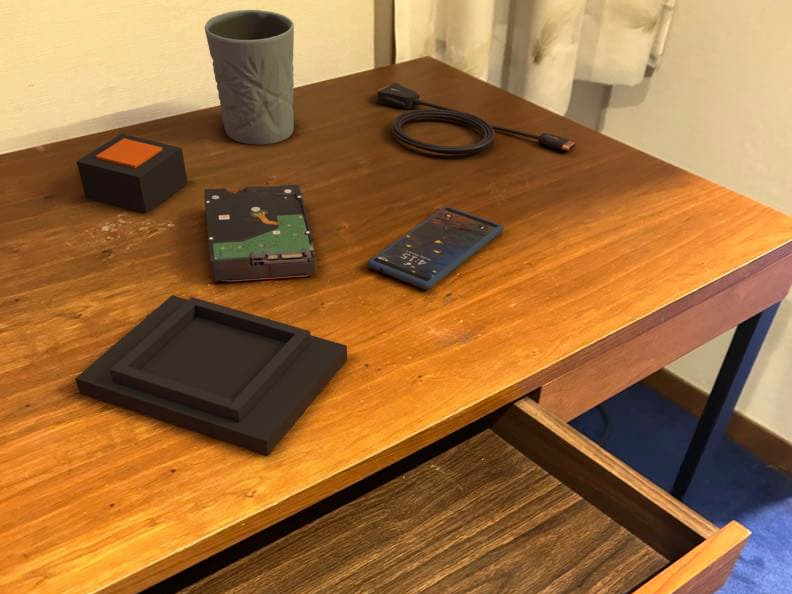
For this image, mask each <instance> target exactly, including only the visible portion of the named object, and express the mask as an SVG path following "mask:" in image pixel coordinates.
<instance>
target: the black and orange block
mask: <svg viewBox="0 0 792 594" xmlns="http://www.w3.org/2000/svg"><path fill="white" fill-rule="evenodd" d="M75 163H76V166H77V170H78V174H79V178H80V181H81V185H82V190H83V194H84V197H85V198H87V199H90V200H93V201H98V202H102V203H106V204H109V205H113V206H117V207H121V208H123V209H127V210H131V211H135V212H138V213H139V212H140V213H143V214H148V213H149V212H150V211H152V210H153V209H155V208H156V207H157V206H159V205H160V204H162V203H163V202H164V201H165V200H167V199H168V198H169V197H171V196H172V195H173V194H175V193H176V192H178V191H180V190H181V188H184V187H185V186H186V185H187V184H188V178H187V172H186V165H185V158H184V152H183V148H182V147H180V146H175V145H170V144H167V143H164V142H163V143H162V142H158V141H155V140H152V139H151V140H150V139H146V138H141V137H138V136H134V135H129V134H126V133H120V134H119V135H117V136H115V137H114V138H112V139H110V140H109V141H106V142H105V143H104V144H102V145H101V146H99V147H97V148H95V149H94V150H92V151H91V152H89V153H87V154H85V155H84V156H83V157H81V158H79V159H78V160H76V162H75Z"/></svg>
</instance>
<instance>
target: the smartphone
mask: <svg viewBox="0 0 792 594" xmlns="http://www.w3.org/2000/svg"><path fill="white" fill-rule="evenodd" d="M503 231H504V226H503V225H502V224H500V223H497V222H493V221H491V220H488V219H485V218H482V217H479V216H477V215H474V214H471V213H468V212H465V211H462V210H460V209H457V208H454V207H451V206H448V205H447V206H443V207H442V208H440V209H439V210H437V211H436V212H435V213H433V214H432V215H431V216H429V217H428V218H426V219H425V220H424V221H422V222H421V223H419V224H418V225H417V226H415V227H414V228H412V229H411V230H410V231H408V232H406V233H405V234H404V235H402V236H401V237H400V238H398V239H396V240H395V241H394V242H392V243H391V244H389V245H388V246H387V247H386V248H384V249H383V250H381V251H379V252H378V253H376V254H375V255H374V256H372V257H371V258H370V259H368V261H367V267H368V268H370V269H372V270H375V271H377V272H380V273H382V274H384V275H388V276H390V277H392V278H395V279H397V280H401V281H403V282H405V283H407V284H410V285H413V286H415V287H418V288H420V289H423V290H431V289H432V288H433V287H434V286H436V285H437V284H439V282H441V281H442V280H443V279H445V278H446V277H447V276H448V275H450V274H451V273H452V272H453V271H455V270H456V269H457V268H459V267H460V266H461V265H462V264H464V262H466V261H467V260H469V259H470V258H471V257H473V256H474V255H475V254H476V253H477V252H479V251H481V249H483V248H484V247H485V246H487V244H489V243H490V242H491V241H493V240H494V239H495V238H496V237H497V236H499V235H500V234H501V233H502V232H503Z"/></svg>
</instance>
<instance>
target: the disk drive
mask: <svg viewBox="0 0 792 594" xmlns="http://www.w3.org/2000/svg"><path fill="white" fill-rule="evenodd" d="M203 197H204V206H205V215H206V217H205V218H206V228H207V229H206V230H207V231H206V232H207V243H208V245H207V246H208V247H207V248H208V255H209V264H210V270H211V271H210V272H211V277H212V281H213V282H220V281H221V282H223V283H224V282H240V281H255V280H257V281H258V280H269V279H270V280H271V279H287V278H299V277H308V276H310V275H316V274H317V257H316V252H315V243H314V239H313V236H312V232H311V228H310V223H309V219H308V215H307V211H306V206H305V203H304V197H303V192H302V190H301V186H300V184H281V185H266V186H263V185H261V186H245V187H244V188H242V189H241V190H239V191H237V192H233V191H232V192H231V191H229V190H228V189H227V188H226V187H224V188H223V187H222V188H205V189H204V195H203Z"/></svg>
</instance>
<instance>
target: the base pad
mask: <svg viewBox="0 0 792 594" xmlns="http://www.w3.org/2000/svg"><path fill="white" fill-rule="evenodd" d="M347 361H348V345H346V344H344V343H340V342H335V341H333V340H329V339H325V338H322V337H320V336H319V337H318V336H315V335H312V334H311V331H310V330H308V329H304V328H300V327H297V326H294V325H292V324H289V323H288V324H287V323H285V322H280V321H277V320H274V319H271V318H267V317H263V316H260V315H256V314H253V313H248V312H247V311H242V310H239V309H236V308H232V307H228V306H224V305H222V304H218V303H214V302H211V301H208V300H204V299H200V298H198V297H194V296H190V298H189V299H188V298H185V297H181V296H177V295H174V294H171V295H170V296H169V297H168V298H167V299H165V301H163V302H162V303H161V304H160V305H158V306H157V307H156V308H155V309H154V310H153V311H152V312H150V314H148V315H147V316H145V317H144V318H143V319H142V320H141V321H140V322H139V323H137V324H136V325H135V326H134V327H133V328H132V329H131V330H130V331H128V332H127V333H125V334H124V336H122V337H121V338H120V339H119V340H118V341H117V342H116V343H114V344H113V345H112V346H111V347H110V348H108V349H107V350H106V351H105V352H104V353H103V354H102V355H100V356H99V357H98V358H97V359H96V360H94V361H93V362H92V363H91V364H89V365H88V366H87V367H86V368H85V369H84V370H83V371H81V373H79V374H78V375H77V376H76V377H75V378H74V379H75V383H76V387H77V389H78V392H79V393H80V394H83V395H85V396H89V397H92V398H94V399H98V400H101V401H104V402H106V403H109V404H113V405H116V406H118V407H122V408H124V409H127V410H130V411H134V412H137V413H139V414H143V415H145V416H149V417H152V418H154V419H157V420H161V421H163V422H167V423H169V424H173V425H175V426H179V427H182V428H185V429H188V430H191V431H192V432H193V431H194V432H195V433H196V432H197V433H198V434H199V433H200V434H203V435H205V436H208V437H211V438H214V439H218V440H221V441H223V442H227V443H230V444H232V445H236V446H238V447H242V448H245V449H248V450H251V451H253V452H257V453H259V454H263V455H266V456H269V455H270V454H271V453H272V451H274V449H275V448H276V447H277V446H278V444H279V443H280V442H281V440H283V438H284V437H285V436H286V435H287V434H288V432H289V431H290V430H291V428H292V427H293V426H294V425H295V424H296V422H297V421H298V420H299V419H300V418H301V417H302V415H303V414H304V413H305V412H306V410H307V409H308V408H309V407H310V406H311V404H312V403H313V402H314V401H315V399H316V398H317V397H318V396H319V395H320V393H321V392H322V391H323V389H325V387H326V386H327V385H328V384H329V382H330V381H331V380H332V379H333V377H335V375H336V374H337V373H338V372H339V370H340V369H341V368H342V367H343V365H345V363H346V362H347Z"/></svg>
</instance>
